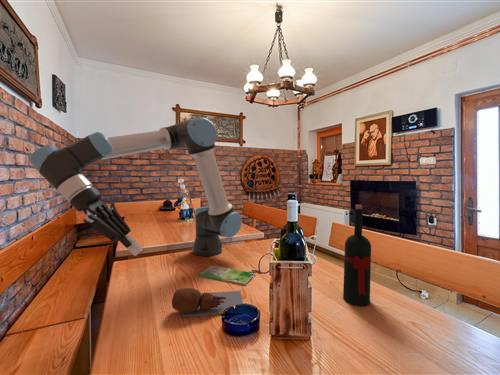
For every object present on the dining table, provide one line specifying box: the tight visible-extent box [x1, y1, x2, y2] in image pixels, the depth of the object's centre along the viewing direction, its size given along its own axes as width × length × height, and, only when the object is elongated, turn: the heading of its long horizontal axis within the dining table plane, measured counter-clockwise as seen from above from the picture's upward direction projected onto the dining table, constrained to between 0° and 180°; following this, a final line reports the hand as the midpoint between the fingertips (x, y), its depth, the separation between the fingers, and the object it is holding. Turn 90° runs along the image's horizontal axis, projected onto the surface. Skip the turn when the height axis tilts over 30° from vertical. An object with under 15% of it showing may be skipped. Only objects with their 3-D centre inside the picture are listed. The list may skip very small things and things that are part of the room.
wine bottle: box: [342, 204, 372, 307], centre depth 74 cm, size 8×10×30 cm
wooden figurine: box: [171, 287, 226, 314], centre depth 69 cm, size 7×6×15 cm
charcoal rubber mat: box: [182, 290, 244, 318], centre depth 74 cm, size 17×12×1 cm
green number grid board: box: [198, 265, 257, 287], centre depth 94 cm, size 20×1×10 cm
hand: (139, 252), depth 73 cm, fingers closed
